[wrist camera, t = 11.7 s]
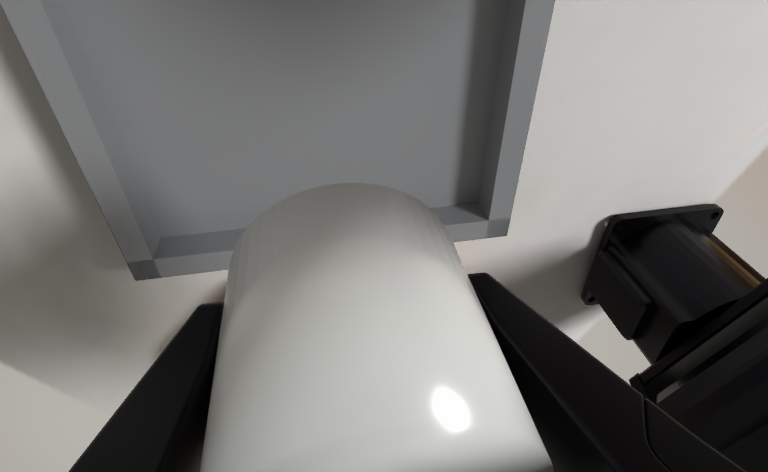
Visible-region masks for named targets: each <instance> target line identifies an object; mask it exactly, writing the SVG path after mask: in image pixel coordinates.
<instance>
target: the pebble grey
mask: <svg viewBox="0 0 768 472" xmlns="http://www.w3.org/2000/svg"><path fill="white" fill-rule="evenodd" d="M200 472H554V469H553V464H552V462H551V460H550V457H549V455H548V453H547V451H546V449H545V446H544V444H543V442H542V440H541V437H540V435H539V433H538V431H537V429H536V426H535V424H534V422H533V420H532V417H531V415H530V413H529V411H528V408H527V406H526V404H525V402H524V400H523V397H522V395H521V393H520V391H519V388H518V386H517V384H516V382H515V380H514V377H513V375H512V373H511V371H510V368H509V366H508V364H507V362H506V360H505V357H504V355H503V353H502V351H501V348H500V346H499V344H498V342H497V340H496V337H495V335H494V333H493V331H492V328H491V326H490V324H489V322H488V319H487V317H486V315H485V313H484V311H483V308H482V306H481V304H480V302H479V299H478V297H477V295H476V293H475V291H474V288H473V286H472V284H471V282H470V279H469V277H468V275H467V273H466V271H465V268H464V266H463V264H462V262H461V259H460V257H459V255H458V253H457V250H456V248H455V246H454V244H453V242H452V239H451V237H450V235H449V233H448V231H447V229H446V227H445V225H444V224H443V223H442V221H441V220H440V219H439V217H438V216H437V215H436V214H435V213H434V212H433V211H432V210H431V209H430V208H429V207H428V206H426V205H425V204H423V203H422V202H420V201H419V200H418V199H416V198H414V197H412V196H410V195H408V194H406V193H404V192H401V191H398V190H395V189H392V188H389V187H385V186H380V185H375V184H366V183H338V184H330V185H323V186H319V187H315V188H311V189H307V190H304V191H302V192H299V193H296V194H294V195H291V196H289V197H287V198H285V199H283V200H281V201H279V202H278V203H276V204H274V205H273V206H271V207H270V208H268V209H267V210H266V211H264V212H263V213H262V214H260V215H259V216H258V217H257V218H256V219H255V220H254V221H253V222H252V223H251V224H250V225H249V226H248V228H247V229H246V230H245V231H244V232H243V234H242V235H241V237H240V239H239V240H238V242H237V244H236V246H235V248H234V251H233V254H232V256H231V261H230V266H229V272H228V279H227V286H226V293H225V300H224V307H223V314H222V321H221V327H220V334H219V341H218V348H217V355H216V362H215V369H214V376H213V383H212V390H211V397H210V404H209V411H208V417H207V424H206V431H205V438H204V445H203V452H202V459H201V466H200Z"/></svg>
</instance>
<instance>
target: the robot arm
mask: <svg viewBox="0 0 768 472" xmlns="http://www.w3.org/2000/svg"><path fill="white" fill-rule="evenodd" d="M722 214H723V209H722V208H720V207H719V206H718V205H716V204H707V205H699V206H691V207H682V208H674V209H665V210H657V211H648V212H640V213H632V214H623V215H618V216H615V217H613V218H612V219H611V220H610V221H609V223H608V225H607V228H606V230H605V233H604V236H603V238H602V241H601V244H600V246H599V249H598V252H597V254H596V257H595V260H594V262H593V265H592V268H591V270H590V273H589V276H588V278H587V281H586V284H585V286H584V289H583V292H582V294H581V299H582V300H583V302H584V303H585V304H586V305H593V304H600V306H601V307H602V308H603V310H604V311H605V313H606V314H607V315H608V317H609V318H610V319H611V321H612V322H613V324H614V325H615V326H616V328H617V329H618V330H619V332H620V333H621V334H622V336H623V337H624V338H625V339H626V340H633V341H634V342H635V344H636V345H637V346H638V348H639V349H640V350H641V352H642V353H643V354H644V356H645V357H646V358H647V360H648V361H649V362H650V364H651V366H650V367H648V368H647V369H646V370H644V371H643V372H642V373H640V374H638V373H637V374H636V375H634V376H633V377H632V378H630V379H629V382H630V384H631V385H629V384H628V383H627V382H626V381H624V380H623V379H621V378H620V377H619V376H618V375H617V374H615V373H614V372H613V371H611V370H610V369H609V368H608V367H606V366H605V365H604V364H603V363H601V362H600V361H599V360H597V359H596V358H595V357H594V356H592V355H591V354H590V353H589V352H587V351H586V350H585V349H583V348H582V347H581V346H579V345H578V344H577V343H576V342H575V341H573V340H572V339H571V338H569V337H568V336H567V335H566V334H564V333H563V332H562V331H561V330H559V329H558V328H557V327H555V326H554V325H553V324H552V323H550V322H549V321H548V320H547V319H545V318H544V317H543V316H541V315H540V314H539V313H538V312H536V311H535V310H534V309H532V308H531V307H530V306H529V305H527V304H526V303H525V302H524V301H522V300H521V299H520V298H518V297H517V296H516V295H515V294H513V293H512V292H511V291H510V290H508V289H507V288H506V287H504V286H503V285H502V284H501V283H499V282H498V281H497V280H496V279H494V278H493V277H492V276H490V275H489V274H487V273H475V274H468V277H469V279H470V282H471V284H472V286H473V288H474V291H475V293H476V295H477V297H478V299H479V302H480V304H481V306H482V308H483V311H484V313H485V315H486V317H487V319H488V322H489V324H490V326H491V328H492V331H493V333H494V335H495V337H496V340H497V342H498V344H499V346H500V348H501V351H502V353H503V355H504V357H505V360H506V362H507V364H508V366H509V368H510V371H511V373H512V375H513V377H514V380H515V382H516V384H517V386H518V388H519V391H520V393H521V395H522V397H523V400H524V402H525V404H526V406H527V408H528V411H529V413H530V415H531V417H532V420H533V422H534V424H535V426H536V429H537V431H538V433H539V435H540V437H541V440H542V442H543V444H544V446H545V449H546V451H547V453H548V455H549V457H550V460H551V462H552V464H553V469H554V472H768V278H767V279H765V278H764V277H763V276H762V275H760V274H759V273H758V272H757V271H756V270H755V269H753V268H752V267H751V266H750V265H749V264H748V263H746V262H745V261H744V260H743V259H742V258H740V257H739V256H738V255H737V254H736V253H735V252H733V251H732V250H731V249H730V248H728V246H726V245H725V244H724V243H723V242H721V241H720V240H719V239H718V238H717V237H716V236H715V235H713V234H712V232H713V231H714V229H715V227H716V225H717V223H718V222H719V220H720V218H721V216H722ZM223 307H224V303H222V302H216V303H207V304H202V305H200V306H198V307H197V308H196V310H195V311H194V312H193V314H192V315H191V316H190V317H189V319H188V320H187V321H186V323H185V324H184V325H183V326H182V328H181V329H180V330H179V331H178V333H177V334H176V335H175V337H174V338H173V339H172V340H171V342H170V343H169V344H168V345H167V347H166V348H165V349H164V351H163V352H162V353H161V354H160V356H159V357H158V358H157V359H156V361H155V362H154V363H153V365H152V366H151V367H150V368H149V370H148V371H147V372H146V374H145V375H144V376H143V377H142V379H141V380H140V381H139V382H138V384H137V385H136V386H135V388H134V389H133V390H132V391H131V393H130V394H129V395H128V396H127V398H126V399H125V400H124V402H123V403H122V404H121V405H120V407H119V408H118V409H117V410H116V412H115V413H114V414H113V416H112V417H111V418H110V419H109V421H108V422H107V423H106V425H105V426H104V427H103V428H102V430H101V431H100V432H99V433H98V435H97V436H96V437H95V439H94V440H93V441H92V443H91V444H90V445H89V446H88V447H87V449H86V450H85V451H84V453H83V454H82V455H81V456H80V458H79V459H78V460H77V462H76V463H75V464H74V465H73V467H72V468H71V469H70V471H69V472H200V466H201V459H202V452H203V445H204V438H205V431H206V424H207V417H208V411H209V404H210V397H211V390H212V383H213V376H214V369H215V362H216V355H217V348H218V341H219V334H220V327H221V321H222V314H223Z"/></svg>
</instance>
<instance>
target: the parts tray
mask: <svg viewBox="0 0 768 472" xmlns="http://www.w3.org/2000/svg"><path fill="white" fill-rule="evenodd" d="M554 3H555V0H0V4H1V6H2V8H3V10H4V12H5V14H6V16H7V18H8V20H9V22H10V24H11V26H12V28H13V30H14V33H15V35H16V37H17V39H18V41H19V43H20V45H21V47H22V49H23V51H24V53H25V55H26V57H27V59H28V61H29V63H30V65H31V67H32V69H33V71H34V74H35V76H36V78H37V80H38V82H39V84H40V86H41V88H42V90H43V92H44V94H45V96H46V98H47V100H48V102H49V104H50V106H51V108H52V110H53V112H54V115H55V117H56V119H57V121H58V123H59V125H60V127H61V129H62V131H63V133H64V135H65V137H66V139H67V141H68V143H69V145H70V147H71V149H72V151H73V153H74V156H75V158H76V160H77V162H78V164H79V166H80V168H81V170H82V172H83V174H84V176H85V178H86V180H87V182H88V184H89V186H90V188H91V190H92V192H93V194H94V197H95V199H96V201H97V203H98V205H99V207H100V209H101V211H102V213H103V215H104V217H105V219H106V221H107V223H108V225H109V227H110V229H111V231H112V233H113V236H114V238H115V240H116V242H117V244H118V246H119V248H120V250H121V252H122V254H123V256H124V258H125V260H126V262H127V264H128V266H129V268H130V270H131V272H132V274H133V277H134V279H135V281H137V280H145V279H153V278H162V277H170V276H178V275H186V274H195V273H203V272H211V271H219V270H228V269H229V266H230V261H231V256H232V254H233V251H234V248H235V246H236V244H237V242H238V240H239V239H240V237H241V235H242V234H243V232H244V231H245V230H246V229H247V228H248V226H249V225H250V224H251V223H252V222H253V221H254V220H255V219H256V218H257V217H258V216H259V215H260V214H262V213H263V212H264V211H266V210H267V209H268V208H270V207H271V206H273V205H274V204H276V203H278V202H279V201H281V200H283V199H285V198H287V197H289V196H291V195H294V194H296V193H299V192H302V191H304V190H307V189H311V188H315V187H319V186H323V185H330V184H338V183H366V184H375V185H380V186H385V187H389V188H392V189H395V190H398V191H401V192H404V193H406V194H408V195H410V196H412V197H414V198H416V199H418V200H419V201H420V202H422V203H423V204H425V205H426V206H428V207H429V208H430V209H431V210H432V211H433V212H434V213H435V214H436V215H437V216H438V217H439V219H440V220H441V221H442V223H443V224H444V225H445V227H446V229H447V231H448V233H449V235H450V237H451V239H452V242H459V241H467V240H476V239H484V238H492V237H500V236H507V232H508V227H509V223H510V218H511V213H512V208H513V203H514V198H515V193H516V188H517V183H518V179H519V174H520V169H521V164H522V159H523V154H524V149H525V144H526V140H527V135H528V130H529V125H530V120H531V115H532V110H533V105H534V101H535V96H536V91H537V86H538V81H539V76H540V71H541V66H542V61H543V57H544V52H545V47H546V42H547V37H548V32H549V27H550V22H551V18H552V13H553V8H554Z"/></svg>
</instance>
